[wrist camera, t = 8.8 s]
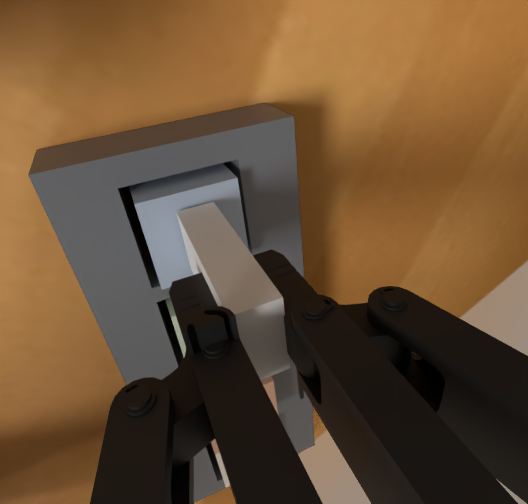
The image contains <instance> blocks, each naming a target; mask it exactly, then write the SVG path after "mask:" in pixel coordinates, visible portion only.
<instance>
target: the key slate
mask: <svg viewBox="0 0 528 504" xmlns="http://www.w3.org/2000/svg"><path fill="white" fill-rule="evenodd" d="M129 188H130V192H131V195H132V198H133V202H134V205H135V208H136V211H137V214H138V217H139V220H140V223H141V227H142V230H143V233H144V236H145V239H146V242H147V245H148V248H149V251H150V254H151V258H152V261H153V264H154V267H155V270H156V273H157V276H158V279H159V282H160V285H161V288H162V290H163V289H166V288H169V287H171V284H172V282H173V281H176V280H179V279H182V278H186V277H189V276H192V275H193V272H192V270H191V267H190V263H189V259H188V255H187V251H186V248H185V244H184V240H183V236H182V232H181V228H180V225H179V221H178V217H177V213H176V212H177V211H181V210H185V209H189V208H192V207H196V206H200V205H203V204H207V203H211V202H214V203H215V205H216V206H217V207H218V209H219V210H220V211H221V213H222V214H223V216H224V217H225V218H226V220H227V221H228V222H229V224H230V225H231V227H232V228H233V229H234V231H235V232H236V233H237V235H238V236H239V238H240V239H241V240H242V242H243V243H244V244H245V246H246V247H247V249H248V243H247V236H246V230H245V223H244V217H243V210H242V204H241V197H240V191H239V184H238V178H237V177H236V176H235V175H234V174H233V173H232V172H231V171H230V170H229V169H228V168H227V167H226V166H225V165H224V164H223V163H220V164H216V165H212V166H208V167H204V168H200V169H196V170H192V171H187V172H183V173H179V174H175V175H171V176H167V177H163V178H159V179H155V180H151V181H146V182H142V183H138V184H134V185H130V186H129ZM248 250H249V249H248Z"/></svg>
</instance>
